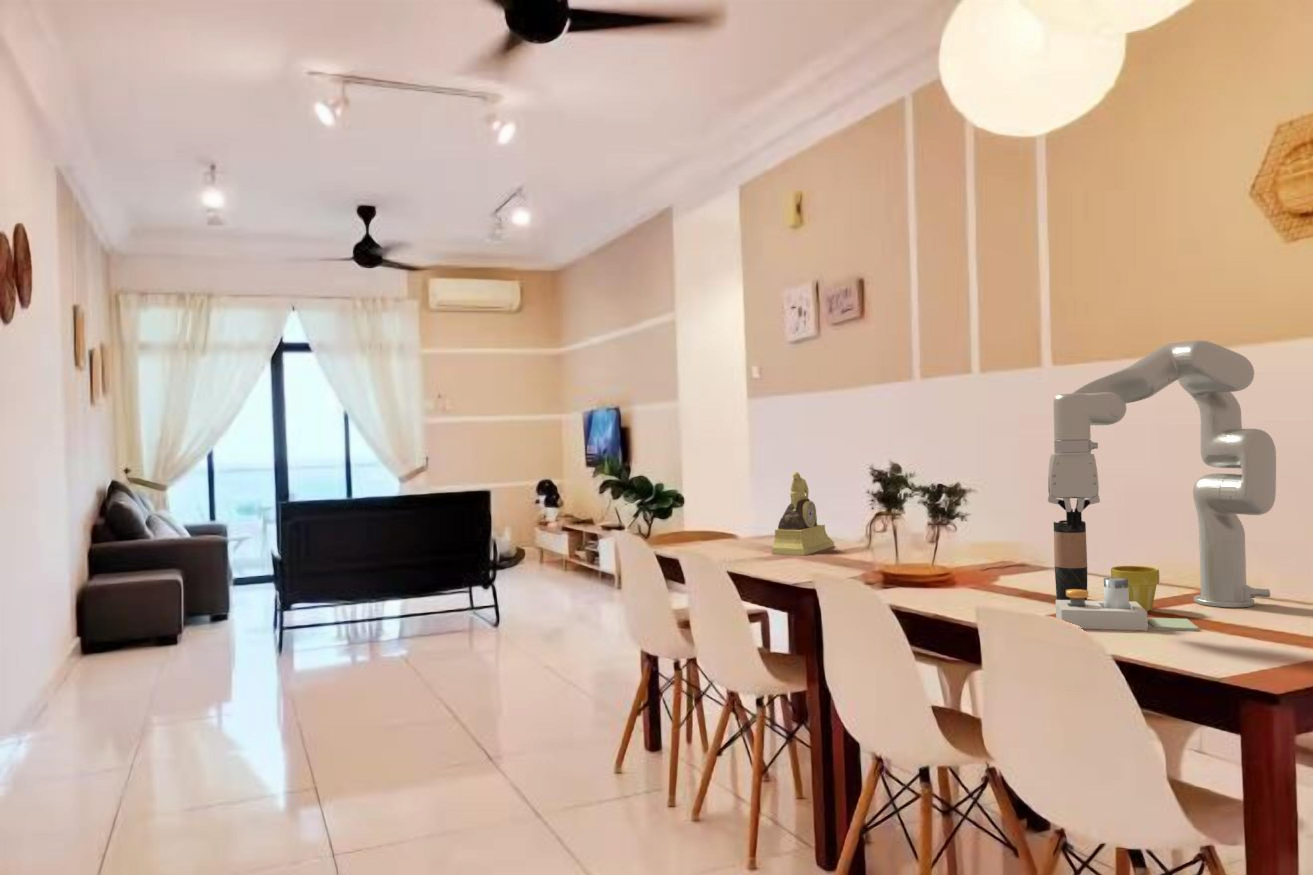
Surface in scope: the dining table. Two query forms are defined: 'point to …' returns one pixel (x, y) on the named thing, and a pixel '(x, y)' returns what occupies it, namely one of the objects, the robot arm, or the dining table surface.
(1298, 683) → the dining table surface
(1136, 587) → the plant pot
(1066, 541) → the travel mug
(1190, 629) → the mat
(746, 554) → the dining table surface
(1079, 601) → the plunger
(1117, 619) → the housing
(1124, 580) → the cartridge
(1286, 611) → the dining table surface
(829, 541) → the decorative clock
